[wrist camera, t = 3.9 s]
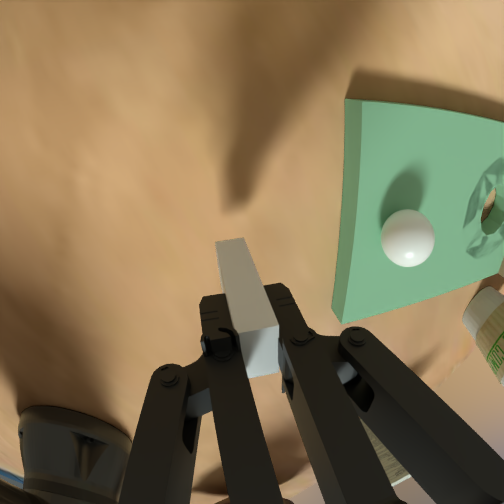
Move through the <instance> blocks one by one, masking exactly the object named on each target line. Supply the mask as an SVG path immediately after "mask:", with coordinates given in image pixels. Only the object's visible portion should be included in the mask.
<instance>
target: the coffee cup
mask: <svg viewBox="0 0 504 504" xmlns="http://www.w3.org/2000/svg"><path fill="white" fill-rule="evenodd" d="M462 321H463V324H464V325H465V326H466V328H467V329H468V331H469V332H470V334H471V335H472V337H473V338H474V340H475V341H476V345H477V346H478V348H479V349H480V351H481V353H482V354H483V356H484V357H485V359H486V361H487V362H488V364H489V365H490V367H491V369H492V370H493V372H494V374H495V375H496V377H497V379H498V381H499V382H500V384H502V385H503V386H504V295H502V294H501V293H500V292H498V291H497V290H495V289H494V288H493V287H491V286H488V287H485V288H484V289H482V290H481V291H480V292H479V293H478V294H477V295H476V296H475V297H474V298H473V299H472V300H471V302H470V303H469V305H468V306H467V308H466V310H465V312H464V315H463V319H462Z"/></svg>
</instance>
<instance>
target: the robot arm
mask: <svg viewBox="0 0 504 504" xmlns="http://www.w3.org/2000/svg"><path fill="white" fill-rule="evenodd" d="M215 246H216V254H217V261H218V268H219V275H220V282H221V288H222V292H223V293H222V294H216V295H210V296H204V297H203V298H202V300H201V302H200V304H199V308H200V317H201V325H202V333H203V334H202V336H201V341H200V342H201V346H202V350H203V354H202V355H201V357H200V358H199V359H198V360H197V361H196V362H194V363H192V364H190V365H188V366H185V367H181V366H180V365H177V364H165V365H163V366H161V367H159V368H158V369H156V370H155V371H154V373H153V375H152V376H151V379H150V383H149V386H148V389H147V393H146V396H145V400H144V403H143V407H142V410H141V414H140V417H139V421H138V425H137V428H136V432H135V436H134V440H133V444H132V443H131V441H130V439H129V438H128V437H127V436H126V435H125V434H124V433H122V432H121V431H119V430H118V429H116V428H115V427H113V426H111V425H109V424H107V423H105V422H103V421H101V420H98V419H96V418H93V417H91V416H88V415H85V414H82V413H79V412H75V411H71V410H67V409H63V408H57V407H50V406H34V407H30V408H27V409H25V410H24V411H23V412H22V413H21V417H20V421H19V426H18V435H19V438H20V450H21V457H22V463H23V468H24V483H23V490H22V489H20V488H18V487H16V486H14V485H12V484H10V483H8V482H6V481H4V480H3V479H1V478H0V504H190V497H191V490H192V482H193V475H194V467H195V460H196V453H197V446H198V439H199V432H200V425H201V418H202V415H204V414H206V413H208V412H210V411H213V417H214V423H215V429H216V434H217V440H218V445H219V451H220V456H221V461H222V466H223V471H224V476H225V481H226V486H227V491H228V495H229V500H230V504H284V502H283V498H282V495H281V492H280V489H279V485H278V482H277V479H276V475H275V472H274V469H273V465H272V462H271V458H270V455H269V451H268V448H267V444H266V441H265V437H264V434H263V430H262V427H261V423H260V420H259V416H258V412H257V409H256V405H255V401H254V398H253V394H252V390H251V387H250V383H249V379H248V378H253V377H258V376H263V375H268V374H273V373H277V372H279V367H280V370H281V372H282V393H285V392H286V395H287V398H288V401H289V403H290V406H291V409H292V412H293V415H294V418H295V421H296V423H297V426H298V429H299V432H300V435H301V437H302V440H303V443H304V446H305V449H306V452H307V454H308V457H309V460H310V463H311V465H312V468H313V471H314V474H315V477H316V479H317V482H318V485H319V488H320V490H321V493H322V496H323V499H324V501H325V504H407V503H406V502H404V501H402V500H400V499H399V498H398V497H397V496H396V494H395V491H394V489H393V487H392V485H391V483H390V481H389V479H388V477H387V474H386V472H385V470H384V468H383V466H382V464H381V462H380V460H379V458H378V456H377V453H376V451H375V449H374V447H373V445H372V443H371V441H370V439H369V437H368V435H367V433H366V431H365V429H364V427H363V424H362V422H361V420H360V418H361V419H362V421H363V422H364V423H365V424H366V425H367V426H368V427H369V429H370V430H371V431H372V432H373V433H374V434H375V436H376V437H377V438H378V439H379V440H380V441H381V442H382V444H383V445H384V446H385V447H386V448H387V449H388V450H389V451H390V453H391V454H392V455H393V456H394V457H395V458H396V459H397V461H398V462H399V463H400V464H401V465H402V466H403V467H404V468H405V470H406V471H407V472H408V473H409V474H410V475H411V476H412V477H413V478H414V479H415V481H416V482H418V484H419V485H420V486H421V487H422V488H423V490H424V491H425V492H426V493H427V494H428V495H429V496H430V497H431V498H432V499H433V500H434V502H435V503H436V504H504V460H503V459H502V458H501V457H500V456H499V455H498V454H497V453H496V452H495V451H494V450H493V449H492V448H491V447H490V446H489V445H488V444H487V443H486V442H485V441H484V440H483V439H482V438H481V437H480V436H479V435H478V434H477V433H476V432H475V431H474V430H473V429H472V428H471V427H470V426H469V425H468V424H467V423H466V422H465V421H464V420H463V419H462V418H461V417H460V416H459V415H458V414H456V413H455V412H454V411H453V410H452V409H451V408H450V407H449V406H448V405H447V404H446V403H445V402H444V401H443V400H442V399H441V398H440V397H439V396H438V395H437V394H436V393H435V392H434V391H433V390H432V389H430V388H429V387H428V386H427V385H426V384H425V383H424V382H423V381H422V380H421V379H420V378H419V377H418V376H417V375H416V374H415V373H414V372H413V371H412V370H410V369H409V368H408V367H407V366H406V365H405V364H404V363H403V362H402V361H401V360H400V359H399V358H398V357H397V356H396V355H394V354H393V353H392V352H391V351H390V350H389V349H388V348H387V347H386V346H385V345H384V344H383V343H382V342H380V341H379V340H378V339H377V338H376V337H375V336H374V335H373V334H372V333H371V332H370V331H368V330H366V329H365V328H362V327H349V328H346V329H345V330H344V331H342V333H341V335H340V336H322V335H319V334H317V333H316V332H315V331H314V330H313V329H311V328H309V327H308V326H307V324H306V322H305V320H304V318H303V316H302V314H301V312H300V310H299V308H298V306H297V304H296V302H295V300H294V298H293V296H292V294H291V292H290V290H289V288H287V287H286V286H285V285H283V284H282V283H276V284H270V285H265V286H263V284H262V282H261V279H260V277H259V274H258V272H257V269H256V267H255V264H254V262H253V259H252V257H251V254H250V252H249V249H248V247H247V244H246V242H245V239H244V238H237V239H231V240H224V241H218V242H215ZM359 417H360V418H359Z"/></svg>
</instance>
